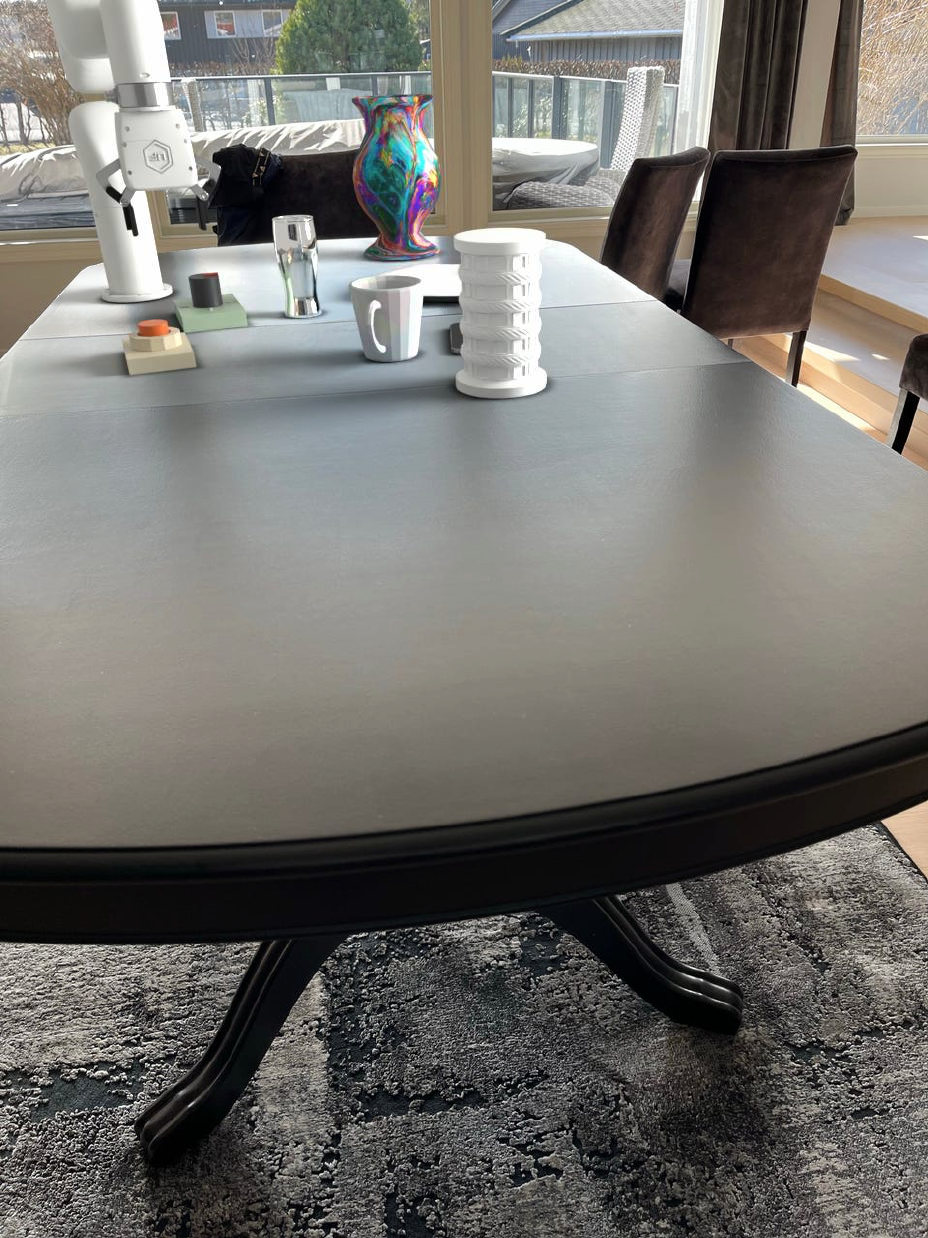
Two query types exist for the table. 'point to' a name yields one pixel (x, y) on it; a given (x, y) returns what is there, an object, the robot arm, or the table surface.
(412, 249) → the vase
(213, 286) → the dial
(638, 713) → the table surface
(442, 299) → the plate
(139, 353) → the button block
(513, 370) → the decorative container
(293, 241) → the beer glass
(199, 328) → the dial panel
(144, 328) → the button
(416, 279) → the mug
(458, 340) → the smartphone
